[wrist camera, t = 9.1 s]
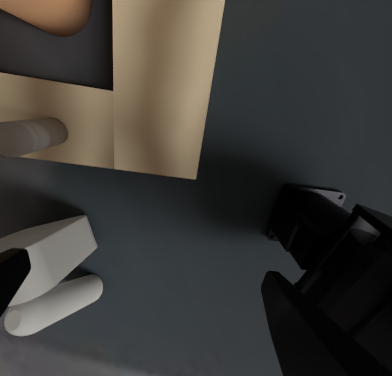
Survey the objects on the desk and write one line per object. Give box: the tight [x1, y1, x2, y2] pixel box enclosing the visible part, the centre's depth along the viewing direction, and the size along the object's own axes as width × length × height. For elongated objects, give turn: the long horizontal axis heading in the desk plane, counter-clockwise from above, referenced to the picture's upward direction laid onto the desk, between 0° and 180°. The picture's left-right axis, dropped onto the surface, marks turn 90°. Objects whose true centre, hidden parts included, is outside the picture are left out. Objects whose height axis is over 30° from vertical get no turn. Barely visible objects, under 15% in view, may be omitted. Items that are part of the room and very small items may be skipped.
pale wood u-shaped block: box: [0, 0, 225, 180], centre depth 12 cm, size 18×16×6 cm
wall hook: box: [0, 215, 103, 336], centre depth 18 cm, size 8×10×10 cm
